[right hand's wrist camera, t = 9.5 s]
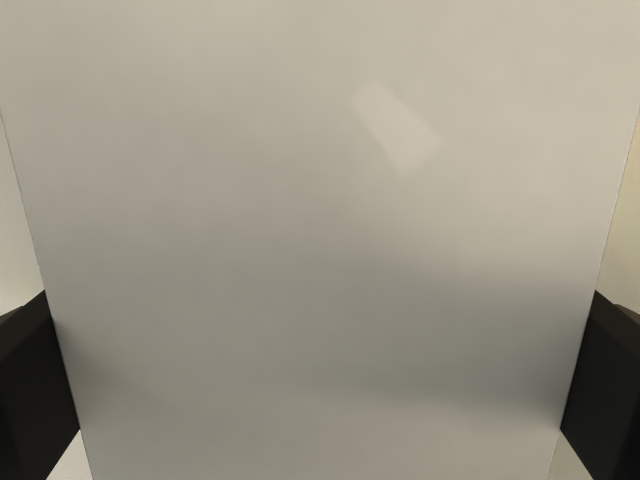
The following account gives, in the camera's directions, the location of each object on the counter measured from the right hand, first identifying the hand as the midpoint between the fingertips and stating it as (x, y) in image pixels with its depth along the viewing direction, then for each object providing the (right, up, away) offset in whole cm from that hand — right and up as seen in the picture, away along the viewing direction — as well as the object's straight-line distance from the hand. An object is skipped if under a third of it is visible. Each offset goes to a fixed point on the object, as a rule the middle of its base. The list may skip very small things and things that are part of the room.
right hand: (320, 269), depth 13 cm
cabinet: (0, +6, +4) cm, 7 cm away
